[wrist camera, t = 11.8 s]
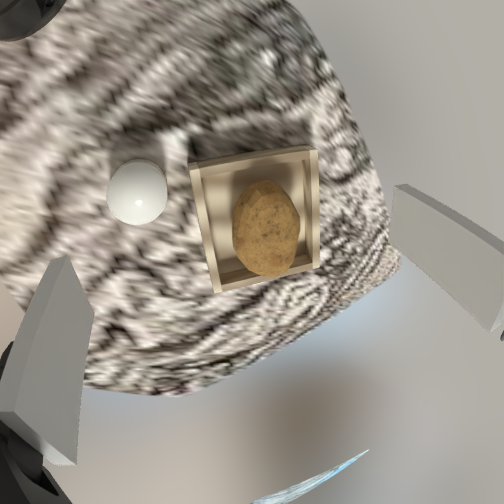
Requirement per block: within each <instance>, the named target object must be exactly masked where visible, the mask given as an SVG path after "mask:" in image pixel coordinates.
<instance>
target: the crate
mask: <svg viewBox="0 0 504 504" xmlns="http://www.w3.org/2000/svg"><path fill="white" fill-rule="evenodd" d="M188 169H189V175H190V180H191V185H192V191H193V196H194V201H195V206H196V211H197V216H198V221H199V226H200V231H201V236H202V241H203V246H204V250H205V255H206V260H207V264H208V269H209V273H210V278H211V282H212V285H213V289H214V293H219V292H223V291H227V290H231V289H235V288H240V287H244V286H248V285H252V284H256V283H260V282H264V281H268V280H272V279H276V278H280V277H284V276H288V275H292V274H295V273H299V272H303V271H307V270H311V269H315V268H318V267H319V259H320V215H319V171H318V149H316V148H313V147H311V146H309V145H307V144H303V145H295V146H287V147H280V148H273V149H266V150H259V151H253V152H247V153H241V154H235V155H229V156H224V157H218V158H213V159H208V160H203V161H198V162H193V163H188ZM263 180H270V181H272V182H274V183H276V184H278V185H280V186H281V187H282V188H283V189H284V190H285V192H286V193H287V194H288V195H289V197H290V198H291V200H292V202H293V204H294V206H295V208H296V210H297V212H298V214H299V216H300V234H299V238H298V243H297V249H296V253H295V257H294V260H293V263H292V264H291V266H290V267H289V269H288V270H287V272H285V273H283V274H281V275H278V276H276V277H267V276H261V275H258V274H256V273H254V272H252V271H250V270H248V269H247V268H246V267H245V266H244V264H243V263H242V262H241V261H240V259H239V258H238V256H237V254H236V252H235V250H234V248H233V242H232V219H233V212H234V207H235V205H236V203H237V200H238V198H239V196H240V195H241V194H242V193H243V192H244V191H245V189H246V188H247V187H248V186H249V185H250V184H253V183H256V182H259V181H263Z"/></svg>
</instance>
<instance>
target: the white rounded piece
mask: <svg viewBox="0 0 504 504" xmlns="http://www.w3.org/2000/svg"><path fill="white" fill-rule="evenodd" d="M106 197H107V203H108V206H109V208H110V210H111V212H112V213H113V214H114V215H115V217H117V218H118V219H119V220H121V221H123V222H125V223H128V224H132V225H141V224H146V223H148V222H151V221H152V220H154V219H155V218H157V217H158V216H159V215H160V214H161V212H162V211H163V209H164V207H165V205H166V201H167V181H166V177H165V175H164V173H163V171H162V170H161V168H160V167H159V166H158V165H156V164H155V163H153V162H151V161H149V160H145V159H134V160H130V161H128V162H126V163H124V164H123V165H121V166H120V167H119V168H118V169H117V171H116V172H115V174H114V175H113V177H112V179H111V180H110V182H109V185H108V188H107V194H106Z"/></svg>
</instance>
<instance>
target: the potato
mask: <svg viewBox="0 0 504 504" xmlns="http://www.w3.org/2000/svg"><path fill="white" fill-rule="evenodd" d="M299 234H300V216H299V214H298V212H297V210H296V208H295V206H294V204H293V202H292V200H291V198H290V197H289V195H288V194H287V193H286V192H285V190H284V189H283V188H282V187H281V186H280V185H278V184H276V183H274V182H272V181H270V180H263V181H259V182H256V183H253V184H250V185H249V186H248V187H247V188H246V189H245V191H244V192H243V193H242V194H241V195H240V196H239V198H238V200H237V203H236V205H235V207H234V212H233V219H232V242H233V248H234V250H235V252H236V254H237V256H238V258H239V259H240V261H241V262H242V263H243V264H244V266H245V267H246V268H247V269H248V270H250V271H252V272H254V273H256V274H258V275H261V276H267V277H276V276H278V275H281V274H283V273H285V272H287V270H288V269H289V267H290V266H291V264H292V263H293V260H294V257H295V253H296V249H297V243H298V238H299Z"/></svg>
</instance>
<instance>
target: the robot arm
mask: <svg viewBox="0 0 504 504" xmlns="http://www.w3.org/2000/svg"><path fill="white" fill-rule="evenodd" d="M65 2H66V0H0V41H5V42H10V41H17V40H20V39H23V38H26V37H28V36H30V35H32V34H33V33H35V32H37V31H38V30H40V29H41V28H42V27H44V26H45V25H46V24H47V23H48V22H49V21H50V20H51V19H52V18H53V17H54V16H55V15H56V14H57V13H58V12H59V11H60V9H61V8H62V6H63V5H64V4H65ZM388 242H389V243H390V244H391V245H392V246H393V247H395V248H396V249H397V250H398V251H400V252H401V253H402V254H403V255H404V256H406V257H407V258H408V259H409V260H410V261H411V262H413V263H414V264H415V265H416V266H417V267H419V268H420V269H421V270H422V271H423V272H424V273H426V274H427V275H428V276H429V277H430V278H431V279H432V280H433V281H435V282H436V283H437V284H438V285H439V286H440V287H441V288H442V289H443V290H445V291H446V292H447V293H448V294H449V295H450V296H451V297H452V298H453V299H454V300H455V301H456V302H458V303H459V304H460V305H461V306H462V307H463V308H464V309H465V310H466V311H467V312H468V313H469V314H470V315H471V316H472V317H473V318H474V319H475V320H476V321H477V322H478V323H479V324H480V325H482V327H484V328H485V329H486V331H487V332H489V333H490V332H491V331H493V330H494V329H495V328H497V327H498V326H500V325H501V323H502V321H503V319H504V242H503V241H502V240H500V239H498V238H497V237H496V236H494V235H493V234H491V233H489V232H488V231H486V230H485V229H484V228H482V227H480V226H479V225H477V224H476V223H474V222H473V221H471V220H469V219H468V218H466V217H464V216H463V215H461V214H459V213H458V212H456V211H455V210H453V209H451V208H449V207H448V206H446V205H444V204H442V203H441V202H439V201H437V200H435V199H434V198H432V197H430V196H428V195H426V194H425V193H423V192H421V191H419V190H417V189H415V188H414V187H411V186H410V185H408V184H403V185H396V186H394V188H393V201H392V212H391V223H390V232H389V240H388ZM94 314H95V313H94V311H93V309H92V307H91V305H90V303H89V301H88V299H87V297H86V294H85V292H84V290H83V288H82V286H81V284H80V282H79V279H78V277H77V275H76V273H75V270H74V268H73V266H72V263H71V261H70V259H69V256H68V255H67V256H64V257H60V258H56V259H53V260H51V262H50V263H49V265H48V267H47V269H46V271H45V273H44V275H43V277H42V279H41V281H40V283H39V285H38V287H37V289H36V291H35V294H34V296H33V298H32V300H31V302H30V304H29V307H28V309H27V311H26V314H25V316H24V318H23V321H22V323H21V325H20V328H19V330H18V333H17V335H16V338H15V340H14V341H12V342H11V343H10V344H9V345H8V347H7V348H6V350H5V351H4V352H3V354H2V356H1V359H0V504H72V503H71V501H70V500H69V499H68V497H67V496H66V495H65V493H64V492H63V491H62V489H61V488H60V487H59V485H58V484H57V482H56V481H55V480H54V478H53V477H52V475H51V474H50V472H49V471H48V470H47V469H46V468H45V467H44V466H43V465H42V464H43V456H44V457H45V458H46V459H48V460H49V461H51V462H52V463H53V464H55V465H77V444H78V427H79V415H80V404H81V394H82V386H83V379H84V371H85V364H86V358H87V352H88V346H89V340H90V334H91V329H92V324H93V319H94ZM503 340H504V331H503V333H502V335H501V341H503Z"/></svg>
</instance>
